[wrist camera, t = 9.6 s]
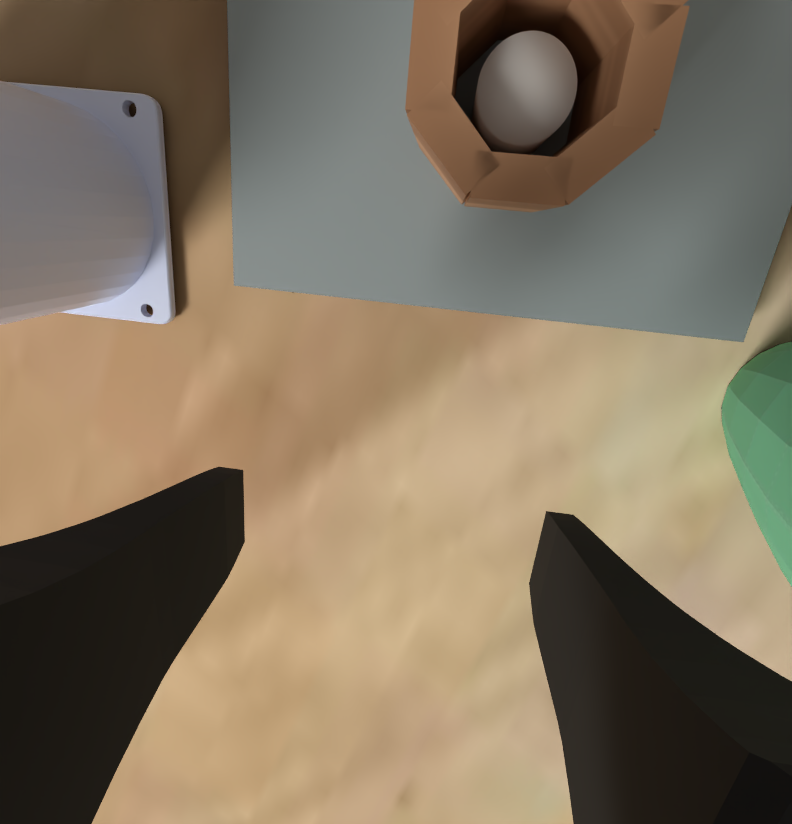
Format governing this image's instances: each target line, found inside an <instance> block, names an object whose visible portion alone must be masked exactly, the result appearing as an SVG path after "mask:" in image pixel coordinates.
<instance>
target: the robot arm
mask: <svg viewBox="0 0 792 824" xmlns="http://www.w3.org/2000/svg"><path fill="white" fill-rule="evenodd" d="M132 103H134V104H135V106H136V109H137V111H136V115H135V116H134V117H131V115H130V113H129V106H130V105H131V104H132ZM147 304H148V305H150V306H151V307H152V309H153V315H150V314H149V313H148V312H147V309H146V307H147ZM58 312H61V313H70V314H78V315H87V316H95V317H104V318H112V319H121V320H129V321H138V322H146V323H155V324H166V323H169V322H171V321H172V320H173V319H174V317H175V313H176V310H175V295H174V280H173V265H172V251H171V236H170V221H169V206H168V191H167V176H166V161H165V146H164V131H163V116H162V110H161V106H160V105H159V103H158V101H156V100H155V99H154V98H153V97H150V96H148V95H145V94H141V93H129V92H117V91H106V90H94V89H83V88H71V87H60V86H48V85H37V84H25V83H14V82H3V81H0V325H3V324H7V323H12V322H16V321H21V320H26V319H30V318H35V317H40V316H44V315H49V314H54V313H58ZM244 542H245V538H244V488H243V470H239V469H231V468H224V467H217V468H214V469H211V470H208V471H205V472H203V473H201V474H198V475H196V476H194V477H191V478H189V479H187V480H185V481H183V482H180V483H178V484H176V485H174V486H171V487H169V488H167V489H165V490H162V491H160V492H158V493H156V494H153V495H151V496H149V497H147V498H144V499H142V500H140V501H137V502H135V503H132V504H130V505H127V506H125V507H122V508H120V509H117V510H115V511H112V512H110V513H107V514H105V515H102V516H100V517H97V518H94V519H92V520H89V521H86V522H83V523H80V524H77V525H74V526H71V527H68V528H65V529H62V530H59V531H56V532H52V533H49V534H46V535H43V536H39V537H35V538H32V539H28V540H24V541H20V542H16V543H12V544H8V545H4V546H0V824H91V823H92V821H93V819H94V817H95V815H96V813H97V811H98V808H99V806H100V804H101V802H102V800H103V798H104V796H105V793H106V791H107V789H108V787H109V785H110V783H111V780H112V778H113V776H114V774H115V772H116V770H117V768H118V766H119V764H120V762H121V760H122V758H123V756H124V754H125V752H126V750H127V748H128V746H129V744H130V742H131V740H132V738H133V736H134V734H135V732H136V729H137V727H138V725H139V723H140V721H141V720H142V718H143V716H144V714H145V712H146V710H147V708H148V706H149V704H150V702H151V700H152V699H153V697H154V695H155V693H156V691H157V689H158V687H159V685H160V683H161V681H162V679H163V678H164V676H165V674H166V673H167V671H168V669H169V668H170V666H171V664H172V663H173V661H174V659H175V658H176V656H177V655H178V653H179V652H180V650H181V648H182V647H183V645H184V644H185V642H186V641H187V639H188V638H189V636H190V635H191V633H192V632H193V630H194V629H195V627H196V626H197V624H198V623H199V621H200V620H201V618H202V617H203V615H204V614H205V612H206V611H207V609H208V607H209V606H210V604H211V603H212V601H213V600H214V598H215V597H216V595H217V594H218V592H219V590H220V589H221V587H222V586H223V584H224V583H225V581H226V579H227V578H228V576H229V574H230V572H231V570H232V568H233V566H234V564H235V562H236V560H237V557H238V555H239V553H240V551H241V548H242V546H243V544H244ZM529 585H530V595H531V605H532V614H533V622H534V627H535V631H536V635H537V640H538V644H539V648H540V652H541V656H542V660H543V664H544V668H545V672H546V676H547V680H548V684H549V688H550V692H551V696H552V700H553V704H554V708H555V712H556V716H557V720H558V725H559V730H560V735H561V739H562V745H563V751H564V758H565V765H566V772H567V778H568V785H569V792H570V799H571V807H572V815H573V822H574V824H792V682H791V681H790V680H788V679H786V678H784V677H783V676H781V675H779V674H778V673H776V672H774V671H773V670H771V669H769V668H768V667H766V666H765V665H763V664H761V663H760V662H758V661H756V660H755V659H753V658H752V657H750V656H748V655H747V654H745V653H743V652H742V651H740V650H739V649H737V648H736V647H734V646H733V645H731V644H730V643H728V642H726V641H725V640H723V639H722V638H720V637H719V636H718V635H716V634H715V633H713V632H712V631H711V630H709V629H708V628H706V627H705V626H703V625H702V624H701V623H699V622H698V621H696V620H695V619H694V618H692V617H691V616H689V615H688V614H687V613H685V612H684V611H683V610H681V609H680V608H679V607H678V606H676V605H675V604H674V603H672V602H671V601H670V600H669V599H667V598H666V597H665V596H664V595H663V594H661V593H660V592H659V591H658V590H656V589H655V588H654V587H653V586H652V585H650V584H649V583H648V582H647V581H646V580H644V579H643V578H642V577H641V576H640V575H639V574H638V573H636V572H635V571H634V570H633V569H632V568H631V567H630V566H629V565H627V564H626V563H625V562H624V561H623V560H622V559H621V558H620V557H619V556H618V555H617V554H615V553H614V552H613V551H612V550H611V549H610V548H609V547H608V546H607V545H606V544H605V543H604V542H603V541H602V540H601V539H599V538H598V537H597V536H596V535H595V534H594V533H593V532H592V531H591V530H590V529H589V528H588V527H587V526H586V525H585V524H583V523H582V522H581V521H580V520H579V519H578V518H576V517H575V516H574V515H570V514H563V513H555V512H548V511H546V515H545V519H544V523H543V527H542V532H541V536H540V540H539V544H538V548H537V553H536V557H535V561H534V565H533V570H532V574H531V578H530V582H529Z"/></svg>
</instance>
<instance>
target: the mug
mask: <svg viewBox="0 0 792 824" xmlns="http://www.w3.org/2000/svg"><path fill="white" fill-rule="evenodd" d="M721 409H722V425H723V429H724V434H725V438H726V443H727V448H728V452H729V456H730V458H731V461H732V463H733V466H734V468H735V471H736V473H737V476H738V478H739V481H740V483H741V486H742V488H743V491H744V493H745V495H746V498H747V500H748V502H749V505H750V507H751V509H752V512H753V514H754V516H755V519H756V521H757V523H758V525H759V527H760V529H761V531H762V533H763V535H764V537H765V539H766V541H767V543H768V545H769V547H770V549H771V551H772V553H773V555H774V557H775V559H776V561H777V563H778V565H779V567H780V569H781V570H782V572H783V574H784V575H785V577H786V578H787V580H788V582H789V583H790V585H791V586H792V342H788V343H783V344H779V345H777V346H775V347H773V348H771V349H768V350H766V351H764V352H762V353H760V354H758V355H757V356H755V357H754V358H753V359H752V360H751V361H749V362H748V363H747V364H746V365H744V366H743V367H742V368H741V369H740V370H739V371H738V373H737V374H736V375H735V377H734V378H733V380H732V381H731V382H730V384H729V385H728V387H727V391H726V394H725V397H724V400H723V404H722V407H721Z"/></svg>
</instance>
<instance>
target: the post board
mask: <svg viewBox="0 0 792 824" xmlns="http://www.w3.org/2000/svg"><path fill="white" fill-rule="evenodd" d="M683 6H690V7H689V11H688V15H687V19H686V23H685V27H684V31H683V35H682V39H681V44H680V48H679V52H678V56H677V60H676V64H675V68H674V72H673V76H672V80H671V84H670V88H669V92H668V96H667V100H666V104H665V109H664V113H663V117H662V121H661V125H660V129H659V130H657V131H655V133H656V135H655V136H654V137H652V138H651V139H650V140H649V141H647V142H646V143H645V144H644V145H642V146H641V147H640V148H639V149H637V150H636V151H635V152H634V153H632V154H631V155H630V156H629V157H627V158H626V159H625V160H624V161H623V162H621V163H620V164H619V165H618V166H616V167H615V168H614V169H613V170H611V171H610V172H609V173H608V174H606V175H605V176H604V177H603V178H601V179H600V180H599V181H598V182H596V183H595V184H594V185H593V186H591V187H590V188H589V189H588V190H587V191H585V192H584V193H583V194H582V195H580V196H579V197H578V198H577V199H575V200H574V201H573V202H572V203H570V204H569V205H565V206H563V207H557V208H552V209H547V210H542V211H536V212H521V211H510V210H499V209H488V208H477V207H466V206H464V205H465V202H464V203H463V204H462V205H461V203H460V202H459V201H458V199H457V198H456V197H455V195H454V194H453V193H452V191H451V190H450V188H449V187H448V186H447V184H446V183H445V182H444V180H443V179H442V178H441V176H440V175H439V174H438V172H437V171H436V170H435V168H434V167H433V165H432V164H431V163H430V161H429V160H428V159H427V157H426V156H425V155H424V153H423V152H422V151H421V149H420V148H419V145H418V143H417V140H416V137H415V135H414V132H413V130H412V127H411V125H410V122H409V120H408V117H407V113H406V110H405V105H406V92H407V80H408V68H409V56H410V44H411V31H412V19H413V7H414V0H227V17H228V59H229V101H230V142H231V184H232V226H233V267H234V285H235V286H244V287H252V288H261V289H270V290H279V291H288V292H297V293H306V294H315V295H324V296H333V297H342V298H351V299H360V300H369V301H378V302H387V303H396V304H405V305H414V306H423V307H432V308H441V309H450V310H459V311H468V312H477V313H486V314H495V315H504V316H513V317H522V318H531V319H540V320H549V321H558V322H567V323H576V324H585V325H594V326H603V327H612V328H621V329H630V330H639V331H648V332H657V333H666V334H675V335H684V336H693V337H702V338H711V339H720V340H729V341H738V342H744V339H745V336H746V333H747V330H748V328H749V325H750V322H751V319H752V316H753V313H754V311H755V308H756V305H757V302H758V299H759V296H760V294H761V291H762V288H763V285H764V282H765V279H766V277H767V274H768V271H769V268H770V265H771V262H772V260H773V257H774V254H775V251H776V248H777V246H778V243H779V240H780V237H781V234H782V231H783V229H784V226H785V223H786V220H787V217H788V214H789V212H790V209H791V206H792V0H688V1H687V2H686V3H685V4H684V5H683ZM576 91H577V71H576V67H575V63H574V60H573V57H572V56H571V54H570V52H569V50H568V49H567V48H566V46H565V45H564V44H563V43H562V42H561V41H560V40H559V39H557V38H556V37H554V36H552V35H550V34H548V33H545V32H542V31H524V32H520V33H517V34H514V35H512V36H510V37H508V38H507V39H505V40H504V41H503V40H497V41H496V42H495V43H494V44H493V45H492V46H491V47H490V48H489V49H488V50H487V51H486V52H485V53H484V54H483V55H482V56H481V57H480V58H479V59H478V60H477V61H476V62H474V63H473V64H472V65H471V66H470V67H469V68H468V69H467V70H466V71H465V72H464V73H463V74H462V75H461V76H460V77H459V78H458V79H457V87H456V96H455V100H456V102H457V103H458V105H459V106H460V107H461V109H462V110H463V112H464V113H465V115H466V116H467V117H468V119H469V120H470V122H471V123H472V124H473V126H474V127H475V129H476V130H477V132H478V133H479V134H480V136H481V137H482V139H483V140H484V142H485V143H486V144H487V146H488V147H489V149H490V150H491V152H503V153H515V154H527V155H539V156H552V155H554V154H555V153H556V152H557V151H558V150H559V149H561V148H562V147H563V146H564V145H565V144H566V143H567V137H568V132H569V127H570V122H571V116H572V111H573V106H574V101H575V97H576Z"/></svg>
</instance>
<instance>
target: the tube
mask: <svg viewBox="0 0 792 824" xmlns="http://www.w3.org/2000/svg"><path fill="white" fill-rule="evenodd" d="M687 1H688V0H414V7H413V19H412V31H411V44H410V56H409V68H408V80H407V92H406V105H405V110H406V113H407V117H408V120H409V122H410V125H411V127H412V130H413V132H414V135H415V137H416V140H417V143H418V145H419V148H420V149H421V151H422V152H423V153H424V155H425V156H426V157H427V159H428V160H429V161H430V163H431V164H432V165H433V167H434V168H435V170H436V171H437V172H438V174H439V175H440V176H441V178H442V179H443V180H444V182H445V183H446V184H447V186H448V187H449V188H450V190H451V191H452V193H453V194H454V195H455V197H456V198H457V199H458V201H459V202H460V203H461V205H462V204H463V203H464V202H465V205H464V206H466V207H477V208H488V209H499V210H510V211H521V212H536V211H542V210H547V209H552V208H557V207H563V206H565V205H569V204H570V203H572V202H573V201H574V200H575V199H577V198H578V197H579V196H580V195H582V194H583V193H584V192H585V191H587V190H588V189H589V188H590V187H591V186H593V185H594V184H595V183H596V182H598V181H599V180H600V179H601V178H603V177H604V176H605V175H606V174H608V173H609V172H610V171H611V170H613V169H614V168H615V167H616V166H618V165H619V164H620V163H621V162H623V161H624V160H625V159H626V158H627V157H629V156H630V155H631V154H632V153H634V152H635V151H636V150H637V149H639V148H640V147H641V146H642V145H644V144H645V143H646V142H647V141H649V140H650V139H651V138H652V137H654V136H655V135H656V133H655V131H657V130H659V129H660V125H661V121H662V117H663V113H664V109H665V104H666V100H667V96H668V92H669V88H670V84H671V80H672V76H673V72H674V68H675V64H676V60H677V56H678V52H679V48H680V44H681V39H682V35H683V31H684V27H685V23H686V19H687V15H688V11H689V7H690V6H683V5H684V4H685V3H686V2H687ZM524 31H542V32H545V33H548V34H550V35H552V36H554V37H556V38H557V39H559V40H560V41H561V42H562V43H563V44H564V45H565V46H566V48H567V49H568V50H569V52H570V54H571V56H572V57H573V60H574V63H575V67H576V71H577V91H576V97H575V101H574V106H573V111H572V116H571V122H570V127H569V132H568V137H567V143H566V144H565V145H564V146H563V147H562V148H561V149H559V150H558V151H557V152H556V153H555V154H554V155H552V156H539V155H527V154H515V153H503V152H491V150H490V149H489V147H488V146H487V144H486V143H485V142H484V140H483V139H482V137H481V136H480V134H479V133H478V132H477V130H476V129H475V127H474V126H473V124H472V123H471V122H470V120H469V119H468V117H467V116H466V115H465V113H464V112H463V110H462V109H461V107H460V106H459V105H458V103H457V102H456V100H455V96H456V87H457V79H458V78H459V77H460V76H461V75H462V74H463V73H464V72H465V71H466V70H467V69H468V68H469V67H470V66H471V65H472V64H473V63H474V62H476V61H477V60H478V59H479V58H480V57H481V56H482V55H483V54H484V53H485V52H486V51H487V50H488V49H489V48H490V47H491V46H492V45H493V44H494V43H495V42H496V41H497V40H503V41H504V40H505V39H507V38H508V37H510V36H512V35H514V34H517V33H520V32H524Z"/></svg>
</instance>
